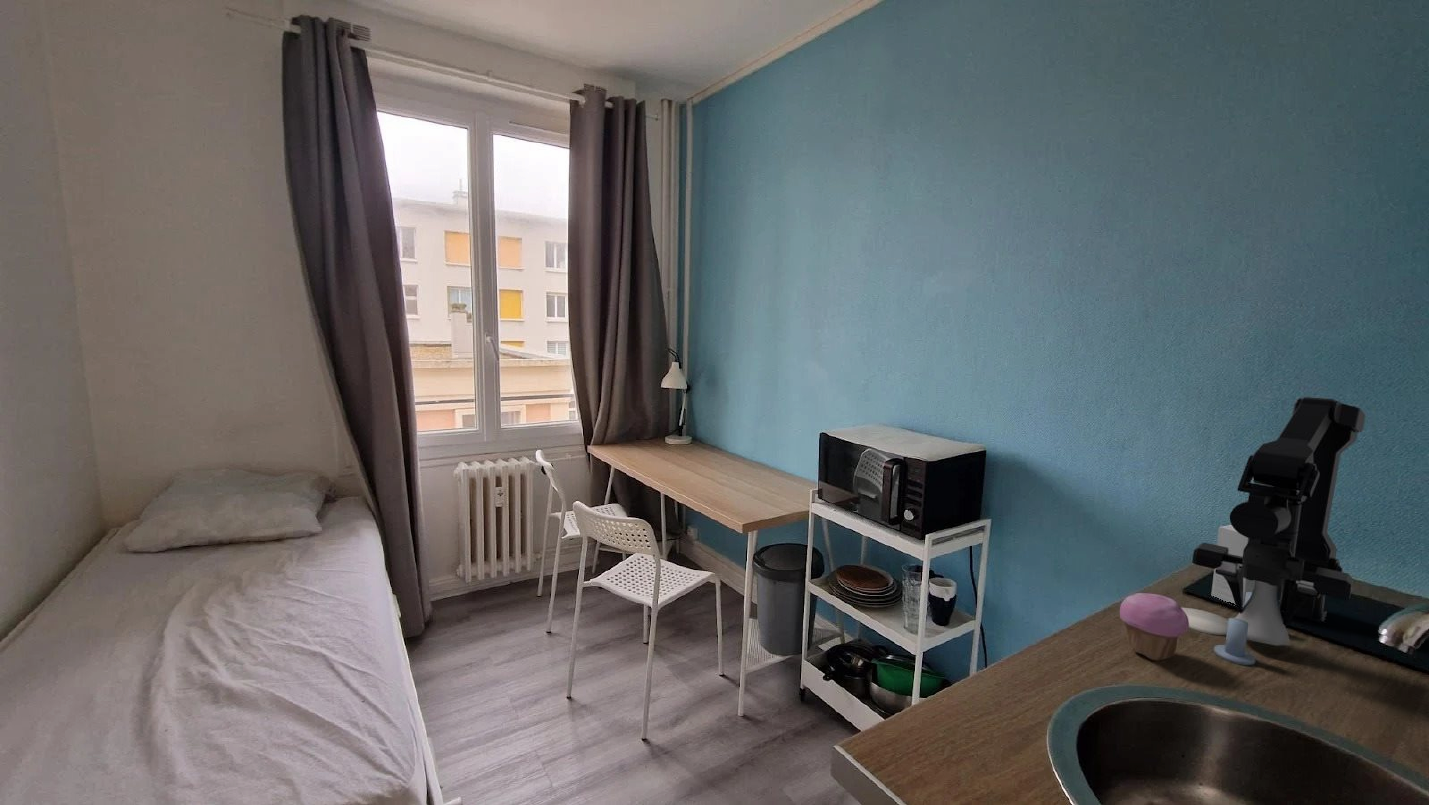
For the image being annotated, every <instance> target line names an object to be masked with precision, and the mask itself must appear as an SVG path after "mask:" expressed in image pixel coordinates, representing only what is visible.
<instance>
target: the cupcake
mask: <svg viewBox="0 0 1429 805" xmlns="http://www.w3.org/2000/svg"><path fill="white" fill-rule="evenodd" d="M1182 608H1183V607H1181V606H1180V605H1179V604H1178V602H1177V601H1175V600H1174V599H1172V598H1170V597H1167V596H1165V595H1162V594H1156V593H1144V592H1137V593H1135V594H1131V595H1128V596H1127V597H1126V598H1124V600H1123V601H1122V602H1121V604H1120V606H1119V617H1120V619H1121V621H1122V622H1124V630H1125V635H1126V640H1127V642H1128V644H1129V646H1130V647H1131V649H1132V651H1134V653H1137V654H1141V655H1143V656H1145V657H1147V658H1148V659H1150V660H1152V661H1157V662H1159V661H1162V660H1167V659H1171V658H1172V657H1173V656H1175V654H1176V651H1177V644H1178V639H1179V637H1181V636H1182V635H1185V633H1186V632H1187V631H1189V629H1190V628H1189V620H1188V617H1187V615H1186V614H1185V612H1184V611H1183V609H1182Z"/></svg>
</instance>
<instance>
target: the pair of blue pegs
mask: <svg viewBox="0 0 1429 805" xmlns="http://www.w3.org/2000/svg"><path fill="white" fill-rule="evenodd" d="M1251 595H1252V592H1246V597H1245V604H1246V603H1247V601H1248V600H1249V598H1250V597H1251ZM1244 606H1245V605H1244ZM1236 617H1237V616H1234V617H1230V618H1228V619H1227V620H1228V628H1227V635H1225V636H1226V638H1225V644H1217V645H1215V646H1214V649H1213V653H1214V654H1215V655H1216V656H1218V657H1219V658H1221V659H1222V660H1225V661H1227V662H1230V663H1233V664H1236V665H1241V666H1253V665H1255V664H1256V657H1255V656H1254V654H1252V653H1250V652H1248V651H1246V648H1247V640H1248V638H1247V632H1248V623H1247V622H1246V621H1244V620H1241V619H1237V618H1236Z"/></svg>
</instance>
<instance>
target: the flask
mask: <svg viewBox="0 0 1429 805" xmlns="http://www.w3.org/2000/svg"><path fill="white" fill-rule="evenodd" d="M1278 588H1279V586H1272V585H1269V584H1268V583H1264V582H1260V581H1256V580H1255V586H1254V590H1253V592H1252V595H1251V597H1250V598H1249V600H1248V601H1247V603H1246V604H1245V606H1244V607H1243V608H1242V611H1241V613H1239V612H1238V614H1237V615H1236V616H1235V617H1236V618H1237V619H1241V620H1244V621H1246V622H1247V623H1248V632H1247V640H1250V641H1252V642H1256V643H1260V644H1261V643H1262V644H1266V645H1267V644H1268V645H1272V646H1291V645H1292V643H1291V640H1290V636H1289V634H1288V631H1287V628H1286V625H1284V624H1283V621H1284V618H1283V616H1282V613H1281V612H1280V609H1279V606H1278V601H1279V599H1278Z"/></svg>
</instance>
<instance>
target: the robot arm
mask: <svg viewBox="0 0 1429 805" xmlns="http://www.w3.org/2000/svg"><path fill="white" fill-rule="evenodd" d="M1365 414H1366V413H1365V412H1364V410H1362V409H1361V408H1359V407H1357V406H1356V405H1350V404H1345V403H1342V401H1339V400H1336V399H1334V398H1323V397H1309V396H1308V397H1307V396H1305V397H1302V398H1301V397H1300V398H1298V399H1297V400H1296V402H1295V403H1294V405H1293V409H1292V414H1291V417H1290V419H1289V421H1287V424H1286V425H1285V426H1284V429H1283V430H1282V431H1281V433H1280V434H1279V436H1278V437H1277V438H1276V440H1272V441H1270V442H1266V443H1262V444H1261V445H1260V446H1259V447H1258V449H1257V450H1256V451H1255V452H1254V454H1251V455H1249V456H1248V459H1247V460H1246V465H1245V467H1244V470H1243V473H1242V475H1241V478H1240V480H1239V483H1238V486H1237V492H1242V493H1247V494H1248V498H1247V500H1246V501H1243V502H1242V503H1239V504H1237V505H1235V506H1234V507H1233V508H1232V510H1231V512H1230V514H1229V522H1230V525H1232V526H1233V528H1234V529H1235V530H1236V531H1237V532H1238V533H1240V534H1241V535H1243V536H1245V537H1247V538H1248V542H1247V545H1246V547H1245V548H1244V551H1243V557H1241V556H1237V555H1232V554H1228V553H1229V550H1228V548H1227V547H1223V546H1218V545H1217V544H1214V543H1213V544H1212V543H1208V542H1202V543H1200V544H1198V545H1197V546H1196V548H1195V549H1194V550H1193V553H1192V561H1191V562H1192V563H1191V564H1194V565H1196V566H1201V567H1204V568H1209V569H1212V570H1214V569H1216V568H1217V569H1216V570H1215V572H1216V574H1219V575H1222V576H1223V577H1224V578H1225V579H1226V581H1227V583H1228V585H1229V587H1230V589H1231V592H1232V595H1233V598H1234V602H1235V605H1236V606H1235V605H1234V606H1235V608H1236V610H1237V613H1238V614H1239V613H1241V611H1242V609H1243V608H1242V607H1243V577H1244V578H1245V579H1248V580H1252V581H1253V580H1256V581H1260V582H1264V583H1268V584H1269V585H1272V586H1278V587H1281V594H1280V598H1279V599H1278V602H1280V603H1279V605H1278V606H1279V609H1280V611H1284V612H1285V613H1284V616H1283V624H1284V625H1285V626H1287V625H1288V624H1289V622H1290V621H1291V619H1292V618H1293V617H1294V616H1293V615H1296V616H1299V617H1298V618H1300V617H1303V618H1306V619H1305V620H1307V619H1313V620H1317V621H1321V620H1322V621H1321V622H1324V623H1325V621H1326V618H1325V617H1327V615H1328V611H1327V610H1324V609H1325V608H1324V607H1325V602H1326V601H1325V599H1326V597H1330V598H1333V599H1338V600H1342V601H1350V598H1351V592H1352V586H1353V580H1354V578H1353V577H1352V576H1351V575H1350V574H1349V573H1348V572H1343V568H1342V566H1341V565H1340V564H1341V563H1340V560H1339V559H1338V558H1337V551H1338V548H1337V546H1336V545H1335V543H1334V542H1333V540H1332V538H1331V537H1330V535H1329V533H1328V528H1329V523H1330V518H1331V512H1332V505H1333V501H1334V493H1335V488H1336V484H1337V476H1338V471H1339V465H1340V460H1341V455H1342V453H1344V452H1345V451H1346V450H1347V449H1349V447H1351V446H1352V445H1353V444H1355V443H1356V442H1357V438H1358V434H1359V433H1362V432H1363V430H1364V427H1365V422H1366V415H1365ZM1252 480H1253V481H1252ZM1324 611H1325V612H1324ZM1326 614H1327V615H1326ZM1296 616H1295V617H1296ZM1303 618H1302V619H1303ZM1318 619H1319V620H1318ZM1324 620H1325V621H1324Z"/></svg>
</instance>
